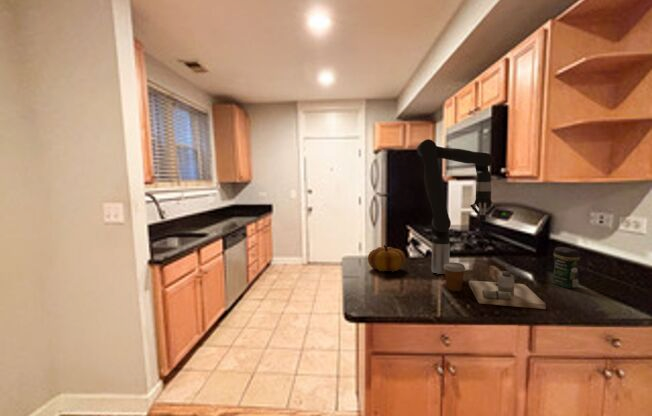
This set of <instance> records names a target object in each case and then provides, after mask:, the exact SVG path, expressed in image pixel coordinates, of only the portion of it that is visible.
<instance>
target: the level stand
mask: <svg viewBox="0 0 652 416" xmlns="http://www.w3.org/2000/svg"><path fill="white" fill-rule="evenodd" d="M468 286H469V287H470V289H471V291H472V292H473V295H474V297H475V299H476V300H477V302H478V304H484V305H496V306H504V307H505V306H506V307H507V306H508V307H515V308H516V307H519V308H529V309H540V310H546V307H547V305H546V303H545V302H544V301H543V300H542V299H541V298H540V297H538V295H536V293H534V291H532V290H531V289H530V288H529V287H528V286H527V285H526V284H525V283H514V295H513V296H511V293H510V292H500V291H498V283H497V282H496V281H483V280H480V281H479V280H468Z"/></svg>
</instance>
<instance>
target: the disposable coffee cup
mask: <svg viewBox="0 0 652 416" xmlns="http://www.w3.org/2000/svg"><path fill="white" fill-rule="evenodd" d="M444 269H445V275H444V276H445V283H446V289H447V290H448V289H449V290H448V291H450V290H451V291H450V292H455V291H458V292H461V291H462V288H463V287H462V286H463V280H464V274H465V270H466V267H465V265H464V264H463V263H460V262H450V261H449V263H445V265H444ZM460 290H461V291H460Z"/></svg>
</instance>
